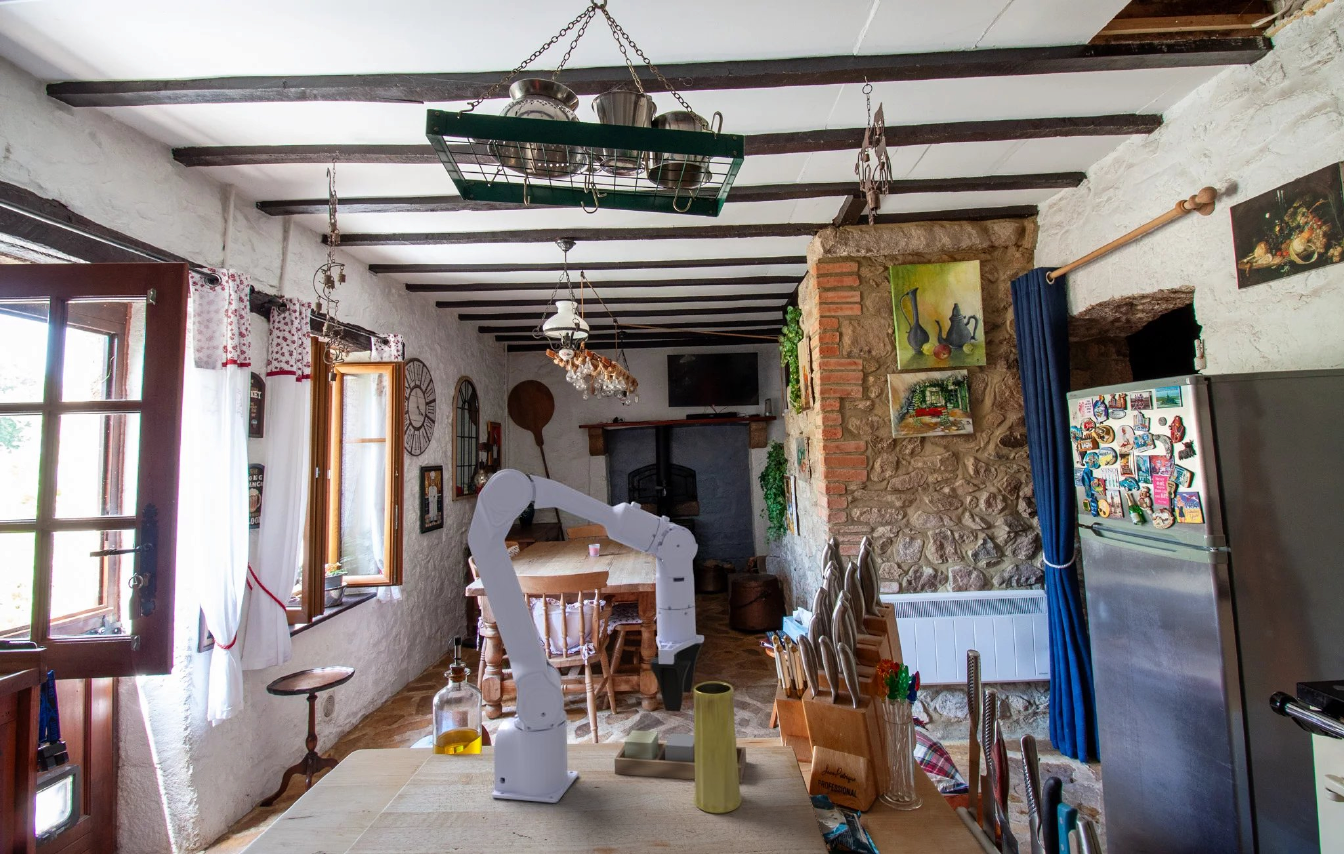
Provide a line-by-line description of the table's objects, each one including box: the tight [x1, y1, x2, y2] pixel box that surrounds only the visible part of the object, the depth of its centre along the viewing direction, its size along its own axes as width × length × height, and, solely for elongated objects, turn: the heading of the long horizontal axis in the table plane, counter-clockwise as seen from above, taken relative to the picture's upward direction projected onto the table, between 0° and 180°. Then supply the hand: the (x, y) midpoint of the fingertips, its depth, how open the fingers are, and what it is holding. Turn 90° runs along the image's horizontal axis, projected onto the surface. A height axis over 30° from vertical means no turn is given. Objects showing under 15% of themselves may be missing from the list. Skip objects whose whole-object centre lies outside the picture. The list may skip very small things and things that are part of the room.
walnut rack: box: [614, 729, 747, 784], centre depth 88 cm, size 18×6×4 cm, turn 77°
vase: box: [692, 680, 742, 814], centre depth 79 cm, size 6×6×14 cm
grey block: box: [665, 733, 695, 763], centre depth 88 cm, size 4×4×4 cm
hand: (678, 700), depth 89 cm, fingers open, 7 cm apart
